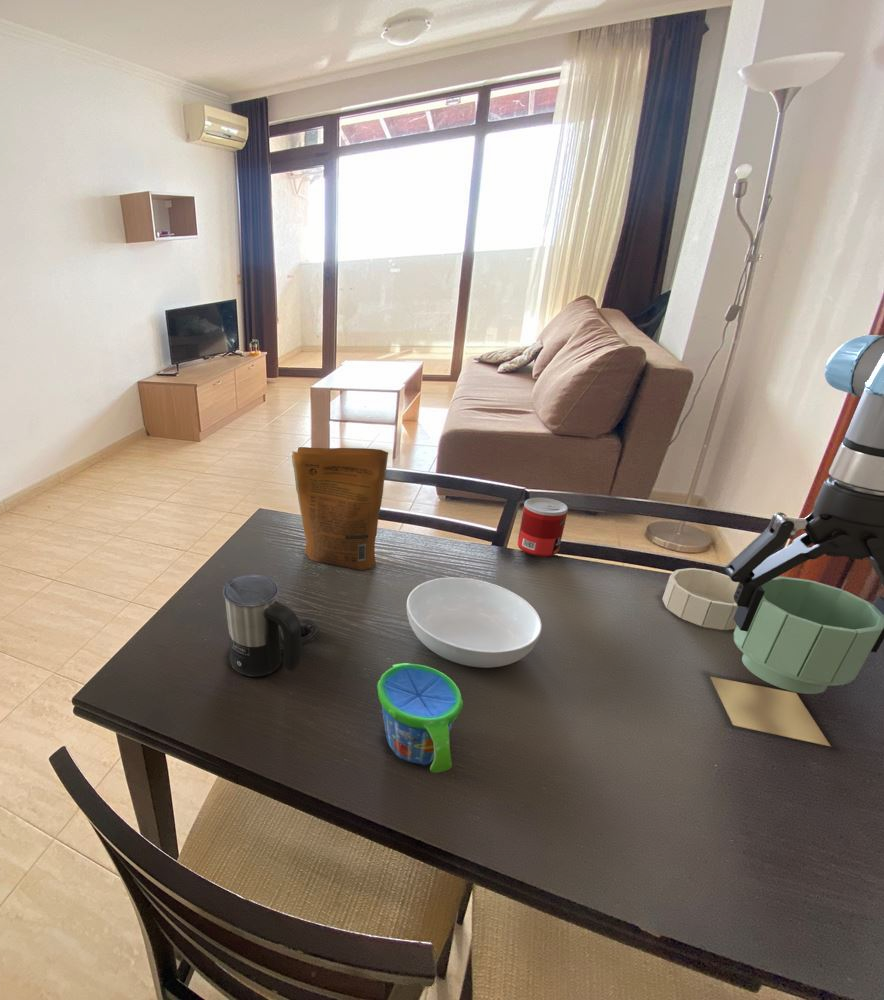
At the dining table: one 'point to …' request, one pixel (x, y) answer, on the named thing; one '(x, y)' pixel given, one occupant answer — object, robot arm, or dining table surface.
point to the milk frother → (263, 627)
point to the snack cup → (419, 713)
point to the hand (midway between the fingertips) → (800, 634)
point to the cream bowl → (702, 597)
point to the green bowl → (808, 635)
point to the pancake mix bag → (340, 503)
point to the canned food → (542, 526)
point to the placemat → (768, 710)
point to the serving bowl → (473, 621)
